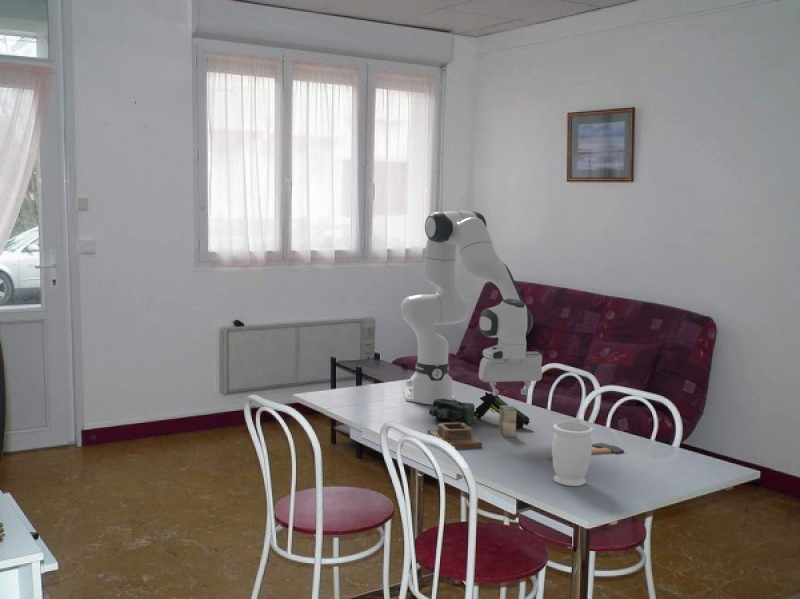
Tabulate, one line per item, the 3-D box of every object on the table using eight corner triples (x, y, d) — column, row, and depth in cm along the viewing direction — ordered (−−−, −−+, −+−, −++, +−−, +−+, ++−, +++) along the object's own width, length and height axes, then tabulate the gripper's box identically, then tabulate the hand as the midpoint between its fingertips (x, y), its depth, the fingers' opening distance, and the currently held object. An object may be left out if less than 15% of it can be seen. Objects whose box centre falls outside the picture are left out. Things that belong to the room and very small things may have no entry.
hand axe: (602, 440, 261) (625, 449, 253) (601, 445, 261) (625, 454, 253) (535, 450, 247) (558, 460, 239) (535, 455, 248) (558, 465, 239)
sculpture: (427, 412, 275) (472, 423, 272) (433, 391, 277) (477, 401, 275) (429, 421, 286) (472, 431, 283) (434, 400, 288) (477, 410, 286)
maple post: (498, 433, 268) (499, 405, 267) (510, 432, 269) (511, 405, 268) (503, 437, 264) (504, 409, 262) (515, 436, 265) (517, 408, 264)
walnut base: (427, 434, 263) (428, 420, 263) (463, 432, 267) (464, 418, 266) (443, 449, 248) (444, 434, 248) (481, 447, 251) (482, 433, 251)
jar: (594, 488, 219) (598, 432, 217) (555, 488, 218) (559, 432, 217) (582, 475, 230) (586, 421, 228) (545, 474, 229) (548, 421, 227)
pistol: (530, 429, 275) (532, 399, 273) (525, 431, 272) (527, 401, 271) (476, 417, 287) (477, 388, 286) (470, 419, 284) (472, 390, 283)
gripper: (538, 349, 268) (536, 392, 270) (477, 350, 263) (476, 393, 265) (546, 353, 262) (544, 396, 264) (485, 353, 257) (483, 398, 259)
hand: (509, 395), depth 264 cm, fingers open, 8 cm apart
